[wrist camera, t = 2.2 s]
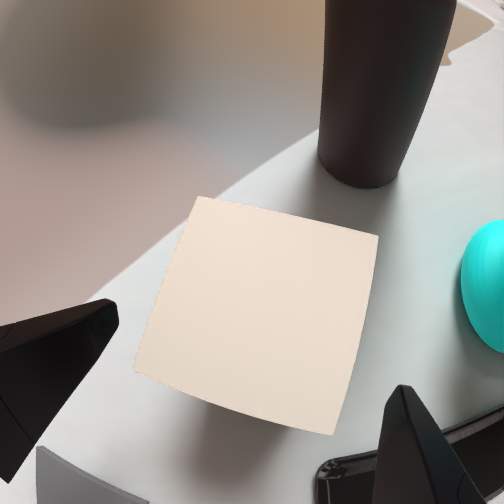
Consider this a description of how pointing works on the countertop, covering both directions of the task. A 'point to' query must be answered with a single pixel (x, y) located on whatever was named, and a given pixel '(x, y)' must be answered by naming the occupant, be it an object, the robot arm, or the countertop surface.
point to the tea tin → (261, 313)
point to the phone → (460, 439)
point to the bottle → (377, 82)
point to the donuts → (485, 283)
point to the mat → (73, 484)
